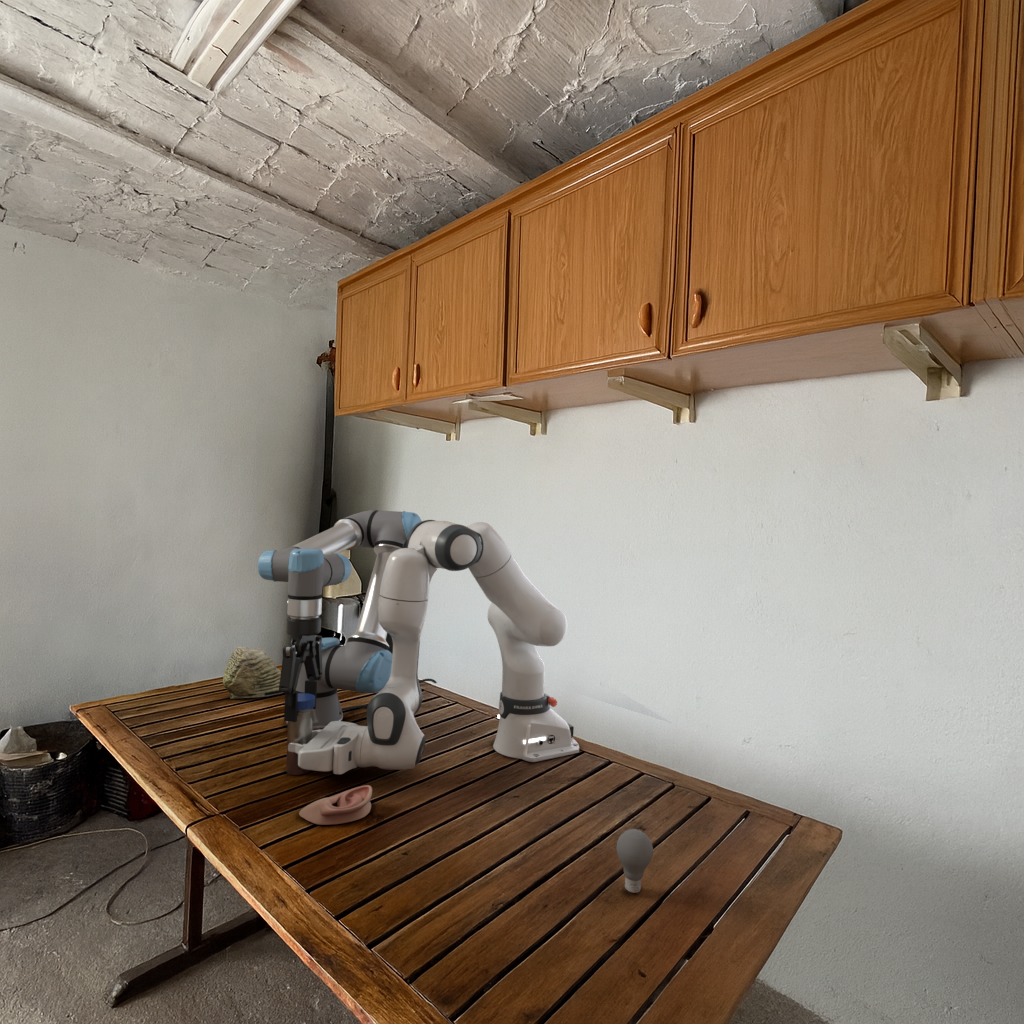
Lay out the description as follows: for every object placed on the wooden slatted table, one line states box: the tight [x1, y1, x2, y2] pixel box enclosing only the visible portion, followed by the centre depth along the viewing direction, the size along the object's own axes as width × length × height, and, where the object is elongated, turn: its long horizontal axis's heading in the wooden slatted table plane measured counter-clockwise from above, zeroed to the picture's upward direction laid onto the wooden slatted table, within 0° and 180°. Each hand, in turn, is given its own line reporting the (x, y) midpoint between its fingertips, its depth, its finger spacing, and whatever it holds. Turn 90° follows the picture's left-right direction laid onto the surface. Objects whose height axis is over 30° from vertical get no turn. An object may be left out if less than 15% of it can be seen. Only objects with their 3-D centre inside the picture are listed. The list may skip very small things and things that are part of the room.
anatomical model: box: [298, 784, 373, 826], centre depth 127 cm, size 13×4×12 cm
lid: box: [297, 693, 315, 710], centre depth 146 cm, size 6×6×2 cm
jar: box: [285, 708, 313, 776], centre depth 146 cm, size 5×5×16 cm
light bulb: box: [615, 828, 654, 894], centre depth 106 cm, size 6×6×10 cm
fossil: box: [222, 646, 284, 699], centre depth 198 cm, size 9×18×15 cm, turn 132°
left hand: (300, 714), depth 146 cm, fingers open, 8 cm apart
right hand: (295, 740), depth 146 cm, fingers closed on jar, 5 cm apart
